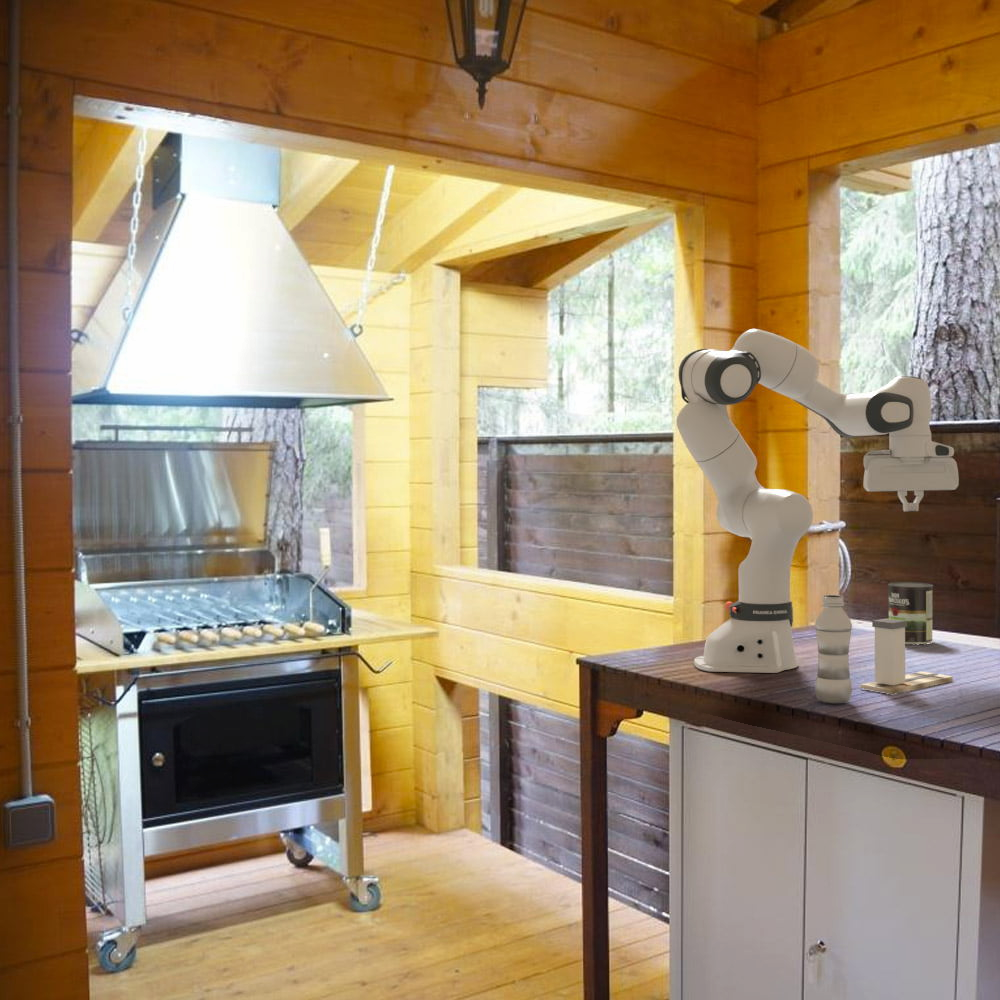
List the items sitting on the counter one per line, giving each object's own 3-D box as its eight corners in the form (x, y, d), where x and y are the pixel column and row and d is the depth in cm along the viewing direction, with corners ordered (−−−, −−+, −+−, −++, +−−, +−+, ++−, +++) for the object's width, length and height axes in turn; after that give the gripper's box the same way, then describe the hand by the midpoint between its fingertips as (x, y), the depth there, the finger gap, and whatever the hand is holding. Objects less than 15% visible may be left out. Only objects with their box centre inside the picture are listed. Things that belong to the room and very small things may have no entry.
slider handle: (887, 679, 222) (886, 618, 221) (907, 682, 218) (907, 620, 218) (872, 682, 219) (872, 620, 219) (893, 685, 215) (892, 623, 215)
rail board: (922, 676, 230) (922, 670, 230) (952, 681, 225) (952, 675, 225) (860, 689, 219) (860, 683, 219) (891, 695, 213) (891, 689, 213)
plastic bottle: (823, 697, 212) (822, 593, 212) (858, 702, 208) (857, 595, 207) (809, 703, 207) (808, 596, 207) (844, 708, 203) (843, 599, 202)
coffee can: (910, 646, 266) (910, 587, 265) (879, 640, 275) (878, 583, 274) (942, 642, 270) (942, 584, 269) (910, 637, 279) (910, 581, 279)
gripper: (867, 450, 246) (868, 512, 247) (961, 448, 245) (961, 511, 246) (859, 450, 252) (859, 511, 253) (950, 448, 252) (951, 509, 252)
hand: (910, 511), depth 249 cm, fingers closed
